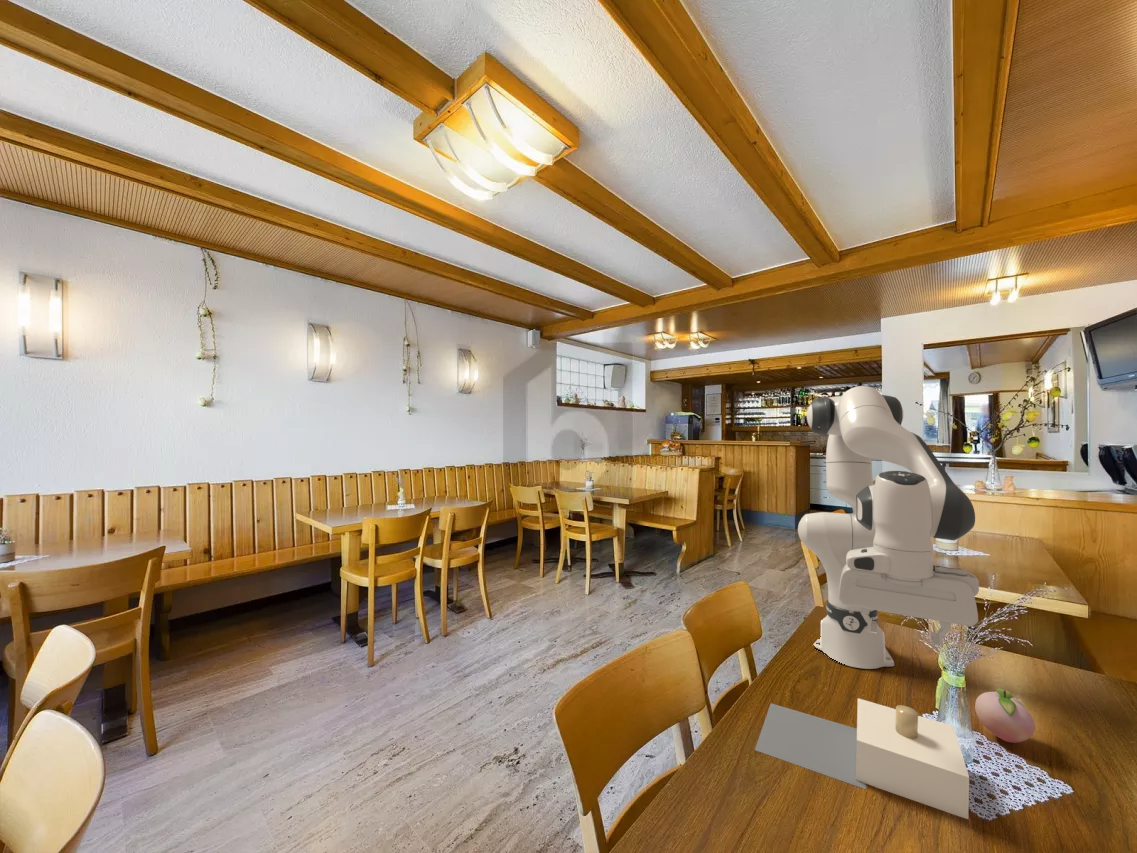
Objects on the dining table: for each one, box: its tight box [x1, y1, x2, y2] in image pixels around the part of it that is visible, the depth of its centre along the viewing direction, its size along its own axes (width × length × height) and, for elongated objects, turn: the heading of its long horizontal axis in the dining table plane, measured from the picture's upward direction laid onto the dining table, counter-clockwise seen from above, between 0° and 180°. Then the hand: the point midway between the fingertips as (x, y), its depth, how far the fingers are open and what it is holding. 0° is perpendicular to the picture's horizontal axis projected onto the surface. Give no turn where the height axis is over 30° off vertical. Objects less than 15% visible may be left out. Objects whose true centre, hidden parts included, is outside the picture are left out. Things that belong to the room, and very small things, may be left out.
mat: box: [754, 702, 867, 790], centre depth 90 cm, size 18×18×1 cm
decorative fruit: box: [974, 688, 1036, 744], centre depth 90 cm, size 9×8×10 cm
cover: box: [856, 698, 970, 820], centre depth 82 cm, size 15×15×11 cm
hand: (903, 638), depth 82 cm, fingers open, 8 cm apart
